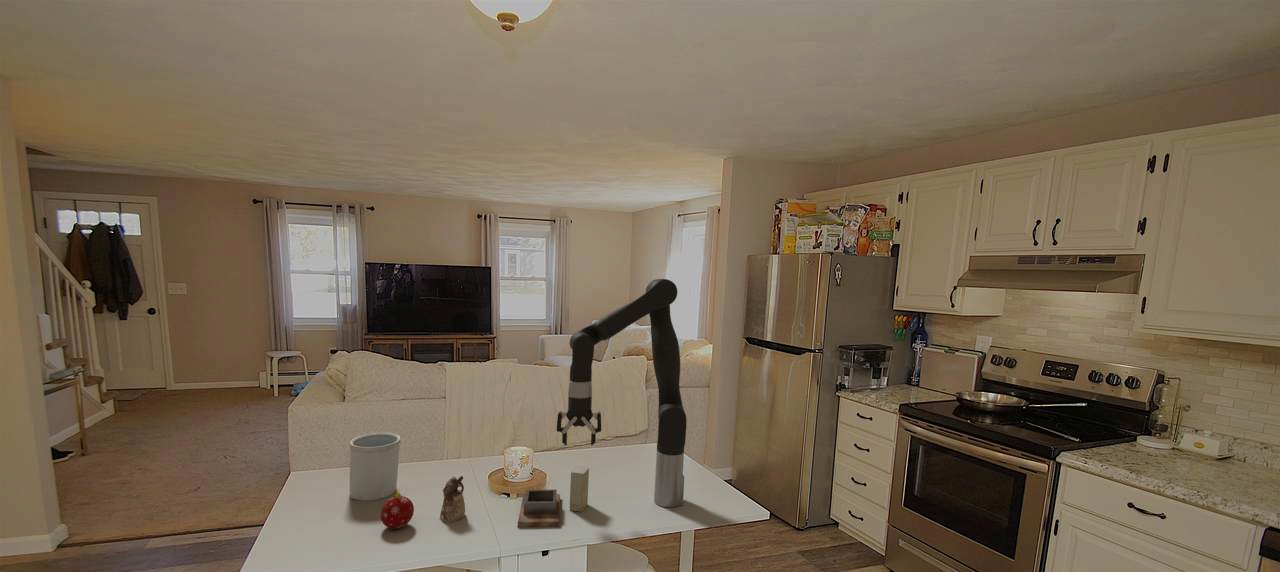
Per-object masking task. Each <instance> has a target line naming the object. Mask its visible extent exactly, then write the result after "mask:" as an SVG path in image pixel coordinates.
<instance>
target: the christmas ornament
mask: <svg viewBox="0 0 1280 572" xmlns="http://www.w3.org/2000/svg"><path fill="white" fill-rule="evenodd" d="M414 507H415V506H414V503H413V501H412V500H411V499H410V498H408V497H406V496H404V495H403V496H402V494H401V493H400V491H398V492H396V494H395V496H394V497H391V498H390V499H388V500H387V501H385V503H384V505H383V506H382V507H381V511H380V520H381V522H382V524H383V525H384V526H385V527H387V528H388V529H393V530H396V529H400V528H403V527H405V526H407V525H408V523H409V522H410V521H411V520H412V519H413V516H414V512H415V508H414Z"/></svg>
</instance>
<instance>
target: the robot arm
mask: <svg viewBox="0 0 1280 572" xmlns="http://www.w3.org/2000/svg"><path fill="white" fill-rule="evenodd" d="M677 297H678V288H677V285H676V284H675V283H674V281H672V280H669V279H667V278H656V279H653V280H651V281H649V283H648V284H647V286H646V288H645V292H644V293H643V294H642V295H641V296H639V297H637V298H636V299H634V300H633V301H631V302H629V303H626V304H623V305H622V306H619V307H618V308H616V309H614V310H613V311H610V312H609V313H607V314H606V315H604V316H603V317H601V318H599V319H597V320H596V321H595V322H594V323H591V324H590V325H587V326H585V327H583V328H581V329H580V330H578V331H575V333H573V334H572V336H571V337H570V339H569V347H570V348H571V350H572V351H571V356H572V357H571V358H572V359H571V364H570V366H569V383H568V391H567V394H568V396H567V397H568V400H567V401H568V402H567V412H562V411H561V410H560V411H558V412H557V413H558V414H557V422H556V431H557V432H558V433H561V435H562V437H561V442H562V444H563V446H567V444H568V431H569V430H570V429H571V427H582V428H583V427H586V428H587V429H588V430H589V431H590V432H591V434H590V435H591V436H590V446H594V444H596V436H597V435H596V434H597V433H601V432H602V411H597V412H593V411H592V408H593V407H592V404H593V384H592V378H593V376H592V375H593V367H592V365H593V360H594V354H595V353H594V352H595V345H597V344H599V343H600V342H602V341H608V340H609V339H611V338H613V337H614V336H615V335H618V334H619V333H620V332H622V331H623V330H624V329H626V328H628V327H629V326H630V325H632V324H634V323H635V322H637V321H639V320H640V319H642V318H644V317H645V316H647V315H649V321H650V337H651V339H650V340H651V352H652V363H653V369H654V375H655V380H656V384H657V389H658V411H657V417H658V419H657V420H658V428H657V442H656V455H655V456H656V458H655V459H656V460H655V475H654V476H655V478H654V495H653V497H654V498H653V500H654V501H653V502H654V503H655V504H656V505H658V506H660V507H663V508H676V506H677V507H679V506H683V505H684V492H685V491H684V490H685V476H684V458H685V446H686V438H687V437H686V436H687V435H686V434H687V414H686V412H685V409H684V406H683V401H682V396H681V395H682V394H681V391H680V389H681V388H680V378H681V377H680V376H681V353H680V352H681V351H680V345H679V344H680V343H679V340H678V337H677V333H676V331H675V328H674V325H673V323H672V318H671V304H672V303H674V302H675V301H676V299H677ZM565 418H566V419H568V421H567V423H566V424H565V425H564V427H562V423H563V422H562V420H564V419H565ZM592 418H594V420H596V421H597V423H596V424H597V425H596V426H597V427H595V426H594V425H593V423H592V421H591V420H592Z"/></svg>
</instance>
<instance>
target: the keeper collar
mask: <svg viewBox="0 0 1280 572" xmlns="http://www.w3.org/2000/svg"><path fill="white" fill-rule="evenodd" d="M525 491H526V492H525V494H526V495H525V500H524V512H523V515H529V514H556V495H557V494H558V493H557V492H558V491H557V489H526V490H525Z"/></svg>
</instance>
